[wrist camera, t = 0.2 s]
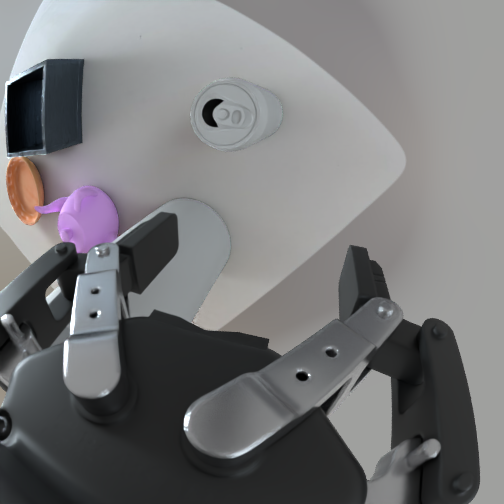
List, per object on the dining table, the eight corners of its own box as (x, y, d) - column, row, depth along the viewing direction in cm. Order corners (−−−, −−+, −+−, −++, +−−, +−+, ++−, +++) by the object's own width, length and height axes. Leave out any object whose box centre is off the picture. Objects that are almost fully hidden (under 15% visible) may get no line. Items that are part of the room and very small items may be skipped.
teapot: (67, 189, 41) (32, 207, 33) (118, 173, 37) (78, 191, 30) (87, 246, 46) (57, 270, 39) (139, 242, 42) (106, 271, 35)
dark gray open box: (38, 77, 31) (6, 82, 24) (84, 59, 28) (47, 59, 22) (38, 147, 38) (7, 158, 31) (82, 142, 36) (46, 154, 29)
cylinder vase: (238, 207, 35) (125, 355, 14) (227, 283, 42) (151, 428, 21) (155, 188, 37) (13, 287, 16) (155, 261, 43) (56, 373, 22)
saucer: (15, 204, 47) (7, 209, 45) (15, 144, 39) (5, 147, 36) (49, 231, 48) (40, 237, 45) (51, 164, 39) (39, 168, 37)
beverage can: (236, 83, 28) (193, 71, 18) (289, 94, 27) (273, 83, 17) (225, 132, 31) (179, 145, 21) (276, 145, 30) (254, 162, 20)
